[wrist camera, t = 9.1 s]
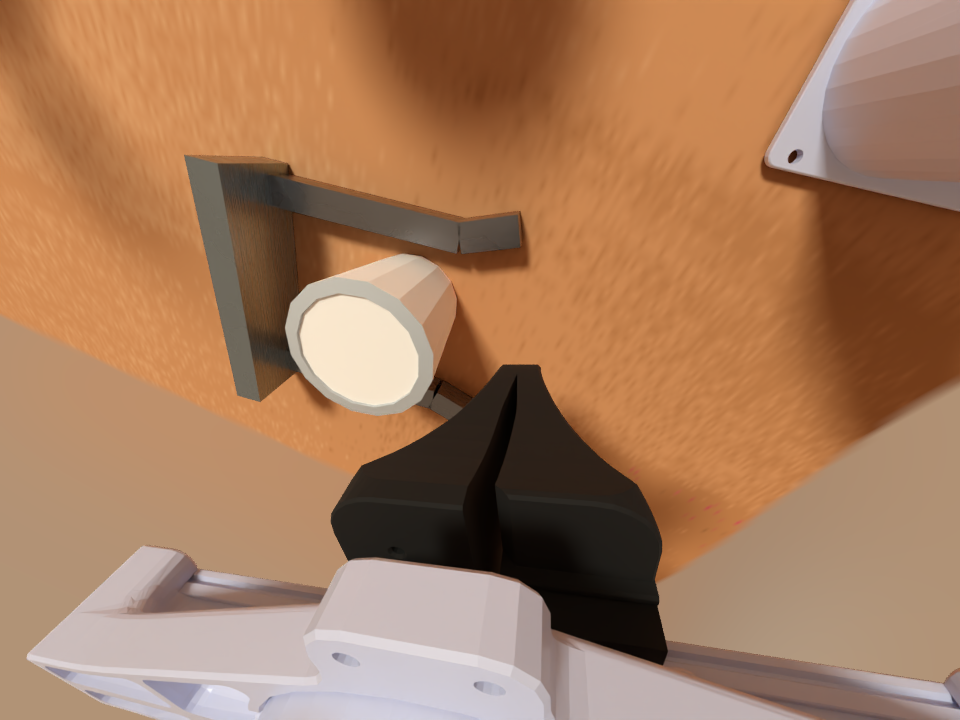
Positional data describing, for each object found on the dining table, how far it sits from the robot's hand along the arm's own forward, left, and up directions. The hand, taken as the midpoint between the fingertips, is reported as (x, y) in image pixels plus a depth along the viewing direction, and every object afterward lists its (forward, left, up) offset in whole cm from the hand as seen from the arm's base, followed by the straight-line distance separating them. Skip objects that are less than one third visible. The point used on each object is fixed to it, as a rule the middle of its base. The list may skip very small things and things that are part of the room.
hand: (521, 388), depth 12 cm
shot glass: (+7, +2, -9) cm, 11 cm away
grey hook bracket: (+10, +2, -9) cm, 13 cm away
